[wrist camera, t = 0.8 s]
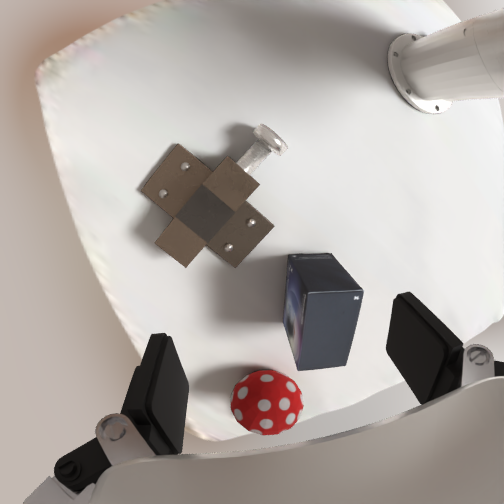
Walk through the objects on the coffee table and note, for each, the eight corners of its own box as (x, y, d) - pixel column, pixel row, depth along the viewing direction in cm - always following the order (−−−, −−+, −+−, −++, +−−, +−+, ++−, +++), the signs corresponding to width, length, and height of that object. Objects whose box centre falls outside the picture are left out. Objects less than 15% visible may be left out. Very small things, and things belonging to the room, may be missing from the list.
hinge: (193, 127, 30) (188, 123, 25) (287, 209, 34) (296, 217, 30) (130, 205, 32) (118, 213, 28) (222, 279, 36) (221, 295, 32)
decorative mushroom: (272, 457, 39) (288, 442, 30) (218, 428, 43) (214, 403, 34) (300, 409, 47) (322, 378, 37) (249, 384, 51) (255, 346, 41)
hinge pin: (258, 125, 30) (262, 121, 26) (283, 148, 31) (291, 148, 27) (181, 211, 33) (175, 219, 29) (206, 233, 34) (204, 243, 30)
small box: (284, 253, 36) (305, 291, 26) (332, 252, 36) (367, 287, 26) (280, 323, 39) (295, 373, 30) (323, 320, 40) (348, 366, 30)
